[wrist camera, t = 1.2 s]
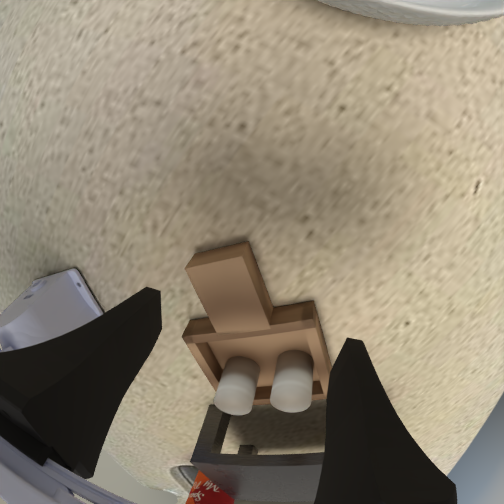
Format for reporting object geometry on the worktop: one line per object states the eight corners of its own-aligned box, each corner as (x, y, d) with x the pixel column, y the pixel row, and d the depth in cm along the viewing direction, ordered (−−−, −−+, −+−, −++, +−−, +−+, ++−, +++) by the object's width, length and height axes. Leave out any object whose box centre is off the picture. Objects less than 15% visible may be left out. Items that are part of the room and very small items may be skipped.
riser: (209, 404, 31) (190, 461, 25) (374, 390, 26) (379, 457, 20) (244, 451, 35) (233, 498, 29) (378, 441, 30) (380, 495, 24)
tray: (160, 262, 23) (132, 297, 19) (293, 230, 20) (287, 267, 16) (230, 389, 29) (218, 427, 25) (334, 379, 26) (334, 421, 22)
